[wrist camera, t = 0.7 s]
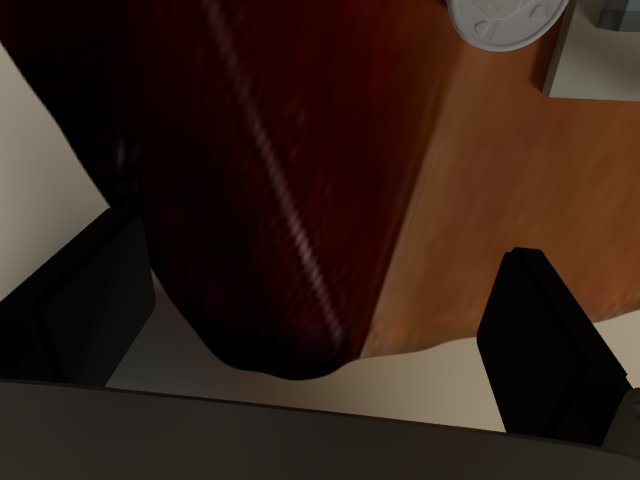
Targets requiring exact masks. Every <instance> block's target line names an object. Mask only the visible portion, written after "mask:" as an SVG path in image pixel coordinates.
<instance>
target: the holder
mask: <svg viewBox="0 0 640 480" xmlns="http://www.w3.org/2000/svg"><path fill="white" fill-rule="evenodd" d="M542 93H543V94H544V95H546V96H548V97H558V98H580V99H603V100H625V101H640V0H569V1H568V3H567V6H566V10H565V13H564V17H563V20H562V24H561V27H560V31H559V34H558V38H557V41H556V45H555V48H554V52H553V55H552V59H551V62H550V66H549V69H548V73H547V76H546V80H545V83H544V87H543V90H542Z"/></svg>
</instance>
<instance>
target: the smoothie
mask: <svg viewBox="0 0 640 480" xmlns="http://www.w3.org/2000/svg"><path fill="white" fill-rule="evenodd" d="M568 1H569V0H446V3H447V5H448V13H449V16H450V18H451V21H452V23H453V26H454V28H455V29H456V30H457V32H458V33H459V34H460V36H461V37H462V38H463V39H464V40H466V41H467V42H468V43H470V44H471V45H473V46H474V47H477V48H481V49H484V50H487V51H499V52H502V51H510V50H514V49H518V48H521V47H523V46H526V45H528V44H530V43H531V42H533V41H535V40H536V39H538V38H539V37H540V36H542V35H543V34H544V33H545V32H546V31H548V30H549V29H550V28H551V27H552V25H553V24H554V23H555V22H556V21H557V19H558V18H559V17H560V15H561V14H562V12H563V11H564V9H565V7H566V5H567V3H568Z"/></svg>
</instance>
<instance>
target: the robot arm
mask: <svg viewBox="0 0 640 480" xmlns="http://www.w3.org/2000/svg"><path fill="white" fill-rule="evenodd" d="M155 299H156V297H155V291H154V286H153V280H152V274H151V268H150V263H149V257H148V251H147V245H146V240H145V234H144V228H143V223H142V219H141V218H140V217H139V216H136V214H135V213H134V212H133V211H132V210H124V209H114V208H108V209H107V210H105V211H104V212H103V213H102V214H101V215H100V216H98V217H97V218H96V219H95V220H94V221H93V222H92V223H90V224H89V225H88V226H87V227H86V228H85V229H84V230H82V231H81V232H80V233H79V234H78V235H77V236H76V237H74V238H73V239H72V240H71V241H70V242H69V243H67V244H66V245H65V246H64V247H63V248H62V249H61V250H59V251H58V252H57V253H56V254H55V255H54V256H52V257H51V258H50V259H49V260H48V261H47V262H46V263H44V264H43V265H42V266H41V267H40V268H39V269H38V270H36V271H35V272H34V273H33V274H32V275H31V276H29V277H28V278H27V279H26V280H25V281H24V282H23V283H21V284H20V285H19V286H18V287H17V288H16V289H14V290H13V291H12V292H11V293H10V294H9V295H8V296H6V297H5V298H4V299H3V300H2V301H1V302H0V480H640V388H635V389H633V388H632V386H631V385H630V383H629V382H628V380H627V379H626V376H627V373H626V371H625V370H624V369H623V367H622V366H621V364H620V363H619V361H618V360H617V359H616V357H615V356H614V354H613V353H612V351H611V350H610V348H609V347H608V346H607V344H606V343H605V341H604V340H603V338H602V337H601V335H600V334H599V333H598V331H597V330H596V328H595V327H594V326H593V324H592V322H591V321H590V320H589V318H588V317H587V315H586V314H585V312H584V311H583V310H582V308H581V307H580V305H579V304H578V302H577V301H576V299H575V298H574V297H573V295H572V294H571V292H570V291H569V289H568V288H567V287H566V285H565V284H564V282H563V281H562V279H561V278H560V276H559V275H558V274H557V272H556V271H555V269H554V268H553V266H552V265H551V264H550V262H549V261H548V259H547V258H546V256H545V255H544V253H543V252H542V251H541V250H539V249H530V248H520V247H515V248H514V249H513V250H512V252H506V253H505V254H504V256H503V259H502V262H501V265H500V267H499V270H498V273H497V276H496V279H495V282H494V285H493V288H492V291H491V294H490V296H489V299H488V302H487V305H486V308H485V311H484V314H483V317H482V320H481V322H480V325H479V328H478V332H477V345H478V349H479V352H480V355H481V358H482V361H483V364H484V367H485V370H486V373H487V376H488V379H489V382H490V385H491V388H492V391H493V394H494V397H495V400H496V403H497V406H498V409H499V412H500V415H501V418H502V421H503V424H504V427H505V430H506V433H505V432H497V431H489V430H482V429H475V428H466V427H458V426H448V425H441V424H432V423H424V422H415V421H406V420H398V419H390V418H381V417H372V416H364V415H356V414H346V413H338V412H329V411H320V410H312V409H303V408H294V407H285V406H275V405H266V404H258V403H249V402H240V401H231V400H222V399H213V398H203V397H194V396H184V395H175V394H166V393H156V392H147V391H137V390H128V389H119V388H109V387H105V385H106V383H107V382H108V380H109V379H110V377H111V376H112V374H113V373H114V371H115V370H116V368H117V366H118V365H119V363H120V362H121V360H122V359H123V357H124V356H125V354H126V352H127V351H128V349H129V348H130V346H131V345H132V343H133V342H134V340H135V338H136V337H137V335H138V333H139V332H140V331H141V329H142V328H143V326H144V324H145V323H146V321H147V320H148V318H149V317H150V315H151V314H152V312H153V310H154V307H155V302H156V300H155Z"/></svg>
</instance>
